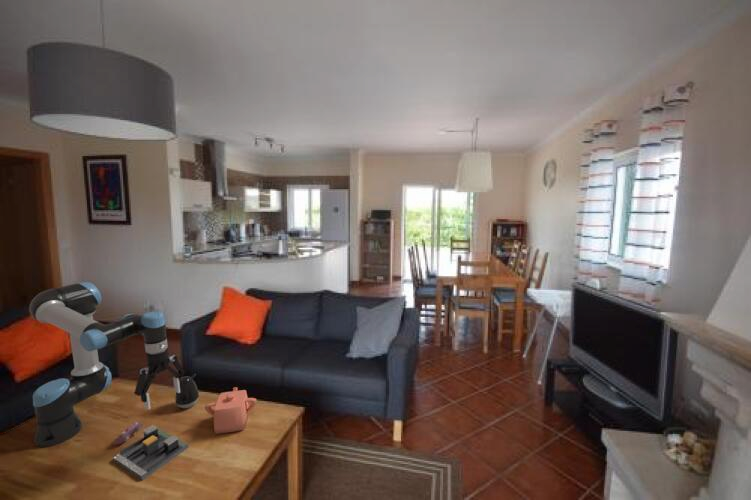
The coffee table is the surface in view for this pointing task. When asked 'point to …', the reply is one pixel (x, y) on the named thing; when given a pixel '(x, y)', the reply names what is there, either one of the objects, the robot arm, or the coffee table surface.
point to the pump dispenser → (187, 393)
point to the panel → (149, 463)
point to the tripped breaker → (150, 444)
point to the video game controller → (128, 433)
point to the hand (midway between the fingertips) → (163, 399)
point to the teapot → (231, 411)
